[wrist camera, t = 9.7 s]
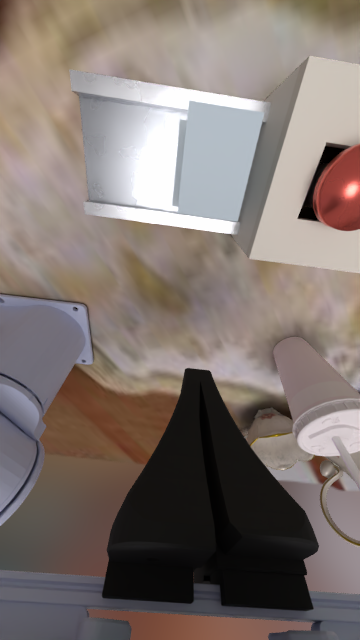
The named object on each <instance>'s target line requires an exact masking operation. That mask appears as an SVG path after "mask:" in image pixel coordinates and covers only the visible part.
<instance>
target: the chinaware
mask: <svg viewBox="0 0 360 640" xmlns="http://www.w3.org/2000/svg"><path fill="white" fill-rule="evenodd" d="M258 411H259V412H258V413H257V414H256V416H255V417H254V418H256V419H255V420H254V421H253V422H252V424H251V426H250V428H249V431H248V434H247V435H245V436H244V438H247V437H248V444H249V445H250V446H251V448H252V449H253V451H254V452H255V453H256V455H257V456H258V457H259V459H260V460H261V461H262V462H263V464H264V465H267V466H269V467H271V468H273V469H276V470H286V469H288V468H291V467H292V466H293V465H294V464H295V463H296V462H297V460H298V461H309V460H311V459H314V456H315V455H314V454H310V453H308V452H306V451H304V450H303V449H301V448H300V447H299V445H298V443H297V440H296V438H295V437H294V434H293V432H292V428H293V424H294V422H293V421H292V420H291V419H290V418H288V417H286V416H284V415H281V414H280V412H277V411H276V410H274V409H273V407H272V408H269V409H263V410H258ZM350 456H351V457H352V459H353V461H354V463H355V464H356V466H357V468H358V469H359V471H360V451H358V452H355V453H351V454H350ZM325 457H326V458H328V459H329V460H331V461H332V462H333V463H335V464H336V465H338V466H339V467H338V466H336V465H334V464H333V463H332V462H330V461H323V462H322V463H321V465H320V471H321V474H322V475H323V476H325V477H327V478H329V479H327V480H326V481H325V482H324V484H323V486H322V489H321V492H320V503H321V508H322V511H323V514H324V516H325V518H326V520H327V522H328V523H329V525H330V526H331V528H332V529H333V530H334V531H335V532H336V533H337V534H338V535H339V536H340V537H341V538H342V539H343V540H345V541H346V542H348V543H349V544H351V545H353V546H356V547H358V548H360V541H357V540H355V539H352V538H350V537H349V536H347V535H346V534H344V533H343V532H342V531H341V530H340V529H339V528H338V527H337V526H336V524H335V523H334V522H333V520H332V518H331V516H330V514H329V512H328V508H327V503H326V496H327V492H328V489H329V487H330V486H331V484H332V483H333V482H334V481H336V480H337V479H339V478H340V477H342V476H343V471H344V472H346V473H347V474H348V475H349V476H350V477H351V478H352V479H353V477H352V475H351V473H350V471H349V470H348V468H347V466H346V464H345V462H344V461H343V459H342V457H341V455H340V456H325ZM335 470H337V471H338V473H337V474H335V475H333V474H334V472H335ZM353 480H354V479H353ZM354 481H355V480H354Z"/></svg>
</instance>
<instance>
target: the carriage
mask: <svg viewBox="0 0 360 640" xmlns="http://www.w3.org/2000/svg"><path fill="white" fill-rule="evenodd" d="M263 117H264V112H258V111H252V110H246V109H240V108H234V107H227V106H221V105H215V104H209V103H203V102H197V101H191V100H189V106H188V115H187V120H182V119H180V124H179V135H178V146H177V157H176V168H175V179H174V190H173V200H172V206H176V207H178V211H177V213H178V214H185V215H193V216H200V217H207V218H214V219H221V220H229V221H236V222H238V218H239V214H240V210H241V206H242V202H243V198H244V194H245V190H246V186H247V181H248V177H249V173H250V169H251V165H252V161H253V157H254V153H255V149H256V145H257V141H258V137H259V133H260V129H261V125H262V121H263Z"/></svg>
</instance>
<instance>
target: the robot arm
mask: <svg viewBox="0 0 360 640" xmlns="http://www.w3.org/2000/svg"><path fill="white" fill-rule="evenodd" d="M2 299H3V300H4V301H3V300H2ZM74 307H76V308H78V310H77V309H75V308H74ZM93 361H94V359H93V352H92V344H91V336H90V328H89V321H88V313H87V307H86V306H85V305H84V304H80V303H71V302H63V301H54V300H46V299H37V298H28V297H20V296H11V295H3V294H0V525H1V524H3V523H4V522H5V521H6V520H7V519H8V518H9V517H10V516H11V515H12V514H13V513H14V512H15V511H16V510H17V508H18V507H19V506H20V505H21V504H22V502H23V501H24V500H25V498H26V497H27V496H28V494H29V493H30V491H31V489H32V488H33V486H34V485H35V483H36V480H37V479H38V477H39V474H40V471H41V469H42V466H43V462H44V455H45V453H44V447H43V445H42V443H41V442H40V441H39V439H40V437H41V435H42V433H43V432H44V430H45V428H46V425H45V424H44V423H43V421H42V418H43V416H44V414H45V413H46V411H47V409H48V408H49V406H50V404H51V403H52V401H53V399H54V398H55V396H56V394H57V393H58V391H59V389H60V387H61V386H62V384H63V382H64V381H65V379H66V377H67V376H68V374H69V372H70V371H71V369H72V367H73V366H74V364H75V363H79V364H92V363H93ZM318 547H319V545H318V542H317V539H316V537H315V534H314V531H313V528H312V526H311V524H310V522H309V519H308V517H307V515H306V513H305V511H304V510H303V509H302V508H301V507H300V506H299V505H298V503H297V502H295V500H294V499H293V498H292V497H291V496H290V495H289V494H288V492H287V491H286V490H285V489H284V488H283V487H282V486H281V485H280V483H279V482H278V481H277V480H276V479H275V477H274V476H273V475H272V474H271V473H270V471H269V470H268V469H267V468H266V466H265V465H264V464H263V462H262V461H261V460H260V459H259V457H258V456H257V455H256V453H255V452H254V451H253V449H252V448H251V446H250V445H249V444H248V442H247V441H246V439H245V438H244V436H243V435H242V433H241V432H240V430H239V428H238V427H237V425H236V423H235V422H234V420H233V418H232V417H231V415H230V413H229V411H228V409H227V408H226V406H225V404H224V402H223V400H222V398H221V396H220V393H219V391H218V389H217V387H216V384H215V382H214V380H213V377H212V374H211V372H210V371H209V370H199V369H190V368H187V369H185V373H184V378H183V383H182V388H181V394H180V397H179V400H178V403H177V405H176V408H175V410H174V413H173V415H172V417H171V420H170V422H169V424H168V426H167V428H166V430H165V432H164V434H163V436H162V438H161V440H160V442H159V444H158V446H157V447H156V449H155V451H154V453H153V454H152V456H151V458H150V459H149V461H148V463H147V464H146V466H145V468H144V469H143V471H142V473H141V474H140V476H139V477H138V479H137V480H136V482H135V483H134V485H133V486H132V488H131V489H130V491H129V492H128V494H127V496H126V498H125V500H124V502H123V504H122V506H121V508H120V510H119V512H118V514H117V516H116V519H115V521H114V523H113V526H112V529H111V533H110V538H109V542H108V547H107V552H108V556H109V562H108V567H107V572H106V577H95V576H80V575H66V574H65V575H64V574H50V573H36V572H21V571H6V570H0V640H130V636H131V626H130V625H129V622H128V621H122V620H113V619H104V618H89V613H88V611H87V609H102V610H119V611H134V612H151V613H167V614H184V615H199V616H200V615H201V616H217V617H233V618H250V619H265V620H281V621H298V622H313V624H312V627H311V631H292V630H289V631H287V632H281V633H270V634H269V636H268V638H269V640H360V594H346V593H331V592H317V591H308V587H307V584H306V580H305V577H304V575H307V570H306V567H305V564H304V561H303V560H304V559H305V558H307V557H309V556H311V555H313V554H315V553H316V552H317V551H318ZM193 572H194V573H193Z"/></svg>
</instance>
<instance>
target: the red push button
mask: <svg viewBox="0 0 360 640" xmlns="http://www.w3.org/2000/svg"><path fill="white" fill-rule="evenodd" d="M302 206H305V207H309V208H313V209H314V212H315V215H316V217H317V218H318V220H319V221H320V222H321V223H323V224H324V225H326V226H329V227H331V228H334V229H337V230H341V231H354V230H358V229H360V143H359V144H356V145H353V146H351V147H349V148H347V149H345V150H344V151H342V152H341V153H340V154H338V155H337V156H336V157H335V158H334V159H333V160H332V161H331V162H330V163H325V164H318V166H317V169H316V171H315V174H314V176H313V179H312V182H311V184H310V187H309V189H308V192H307V195H306V197H305V200H304V203H303V205H302Z"/></svg>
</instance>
